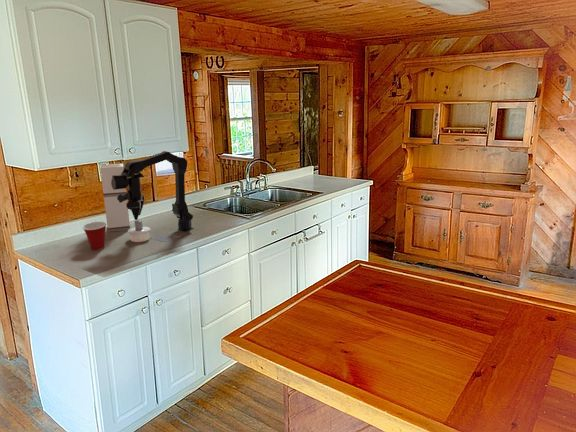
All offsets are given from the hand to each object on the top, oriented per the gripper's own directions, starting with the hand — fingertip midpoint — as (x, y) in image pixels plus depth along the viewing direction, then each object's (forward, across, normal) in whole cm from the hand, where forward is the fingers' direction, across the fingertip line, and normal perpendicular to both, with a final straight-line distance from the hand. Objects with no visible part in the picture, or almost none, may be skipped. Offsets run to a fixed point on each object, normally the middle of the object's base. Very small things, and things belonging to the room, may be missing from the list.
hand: (137, 217), depth 222 cm
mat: (+12, 0, +13) cm, 17 cm away
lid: (+7, 0, 0) cm, 7 cm away
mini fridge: (+12, -25, -15) cm, 31 cm away
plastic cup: (+12, +10, -18) cm, 24 cm away
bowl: (+12, 0, 0) cm, 12 cm away
